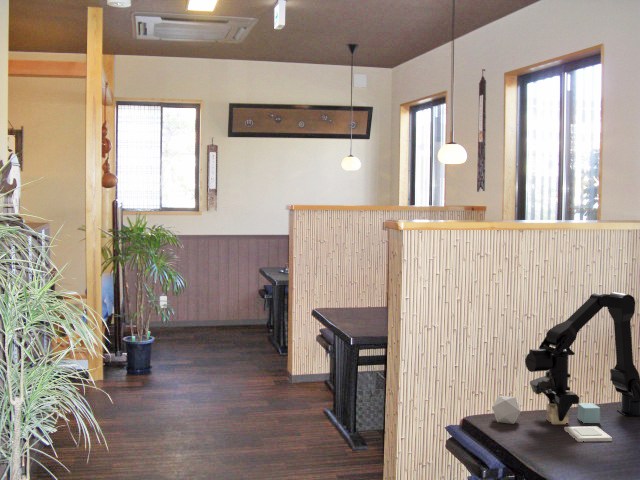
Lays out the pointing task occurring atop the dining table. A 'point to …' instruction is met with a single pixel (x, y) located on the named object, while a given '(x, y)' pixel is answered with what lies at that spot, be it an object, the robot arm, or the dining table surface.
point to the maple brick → (555, 415)
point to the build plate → (588, 433)
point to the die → (506, 409)
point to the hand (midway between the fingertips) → (557, 418)
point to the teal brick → (588, 413)
